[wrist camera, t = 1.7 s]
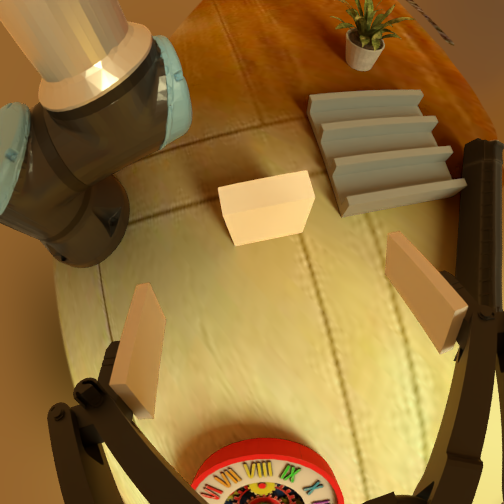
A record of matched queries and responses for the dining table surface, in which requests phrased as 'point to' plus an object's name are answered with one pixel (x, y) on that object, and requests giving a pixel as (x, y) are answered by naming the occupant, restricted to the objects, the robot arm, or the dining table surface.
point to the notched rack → (380, 150)
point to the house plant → (366, 35)
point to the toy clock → (267, 475)
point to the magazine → (481, 223)
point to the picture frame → (267, 207)
